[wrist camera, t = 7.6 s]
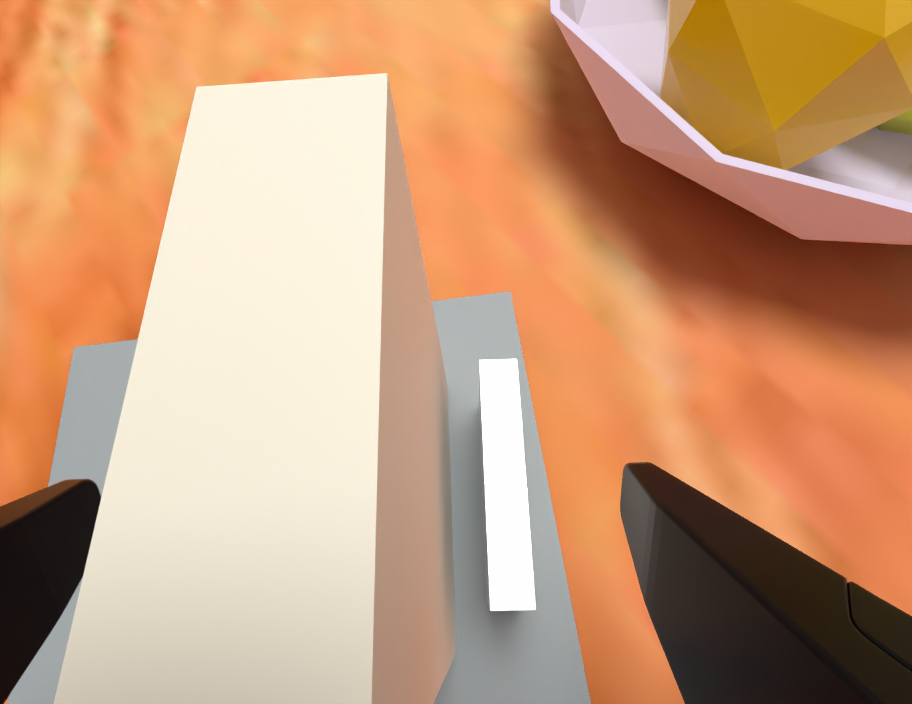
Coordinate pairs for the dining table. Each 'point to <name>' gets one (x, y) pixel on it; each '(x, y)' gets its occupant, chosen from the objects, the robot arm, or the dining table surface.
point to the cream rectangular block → (278, 426)
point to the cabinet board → (476, 627)
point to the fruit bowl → (764, 102)
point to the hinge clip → (504, 489)
